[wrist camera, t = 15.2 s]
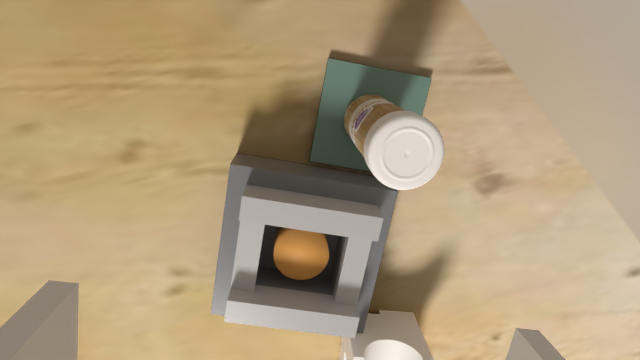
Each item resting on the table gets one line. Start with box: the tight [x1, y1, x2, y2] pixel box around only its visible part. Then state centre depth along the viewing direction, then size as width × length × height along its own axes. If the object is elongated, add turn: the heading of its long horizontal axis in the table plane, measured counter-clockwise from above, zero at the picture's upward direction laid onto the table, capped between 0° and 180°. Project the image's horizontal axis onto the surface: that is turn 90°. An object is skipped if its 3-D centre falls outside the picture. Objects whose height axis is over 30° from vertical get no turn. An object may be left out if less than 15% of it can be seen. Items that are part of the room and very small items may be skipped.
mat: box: [310, 58, 431, 171], centre depth 38 cm, size 9×9×1 cm
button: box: [273, 227, 329, 280], centre depth 38 cm, size 5×5×3 cm
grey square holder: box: [211, 153, 398, 338], centre depth 38 cm, size 14×14×7 cm
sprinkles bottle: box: [344, 94, 444, 190], centre depth 31 cm, size 5×5×13 cm
